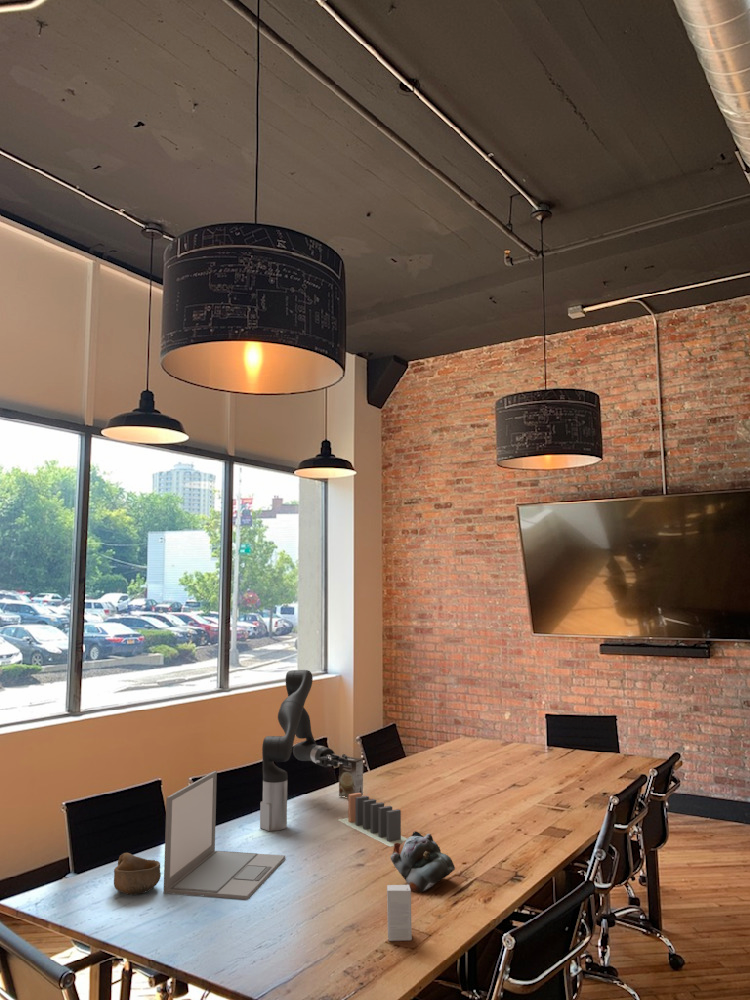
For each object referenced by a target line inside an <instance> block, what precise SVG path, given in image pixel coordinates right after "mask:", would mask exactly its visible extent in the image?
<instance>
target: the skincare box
mask: <svg viewBox="0 0 750 1000" xmlns="http://www.w3.org/2000/svg"><path fill="white" fill-rule="evenodd" d="M386 899H387V900H386V905H387V907H386V910H387V912H386V914H387V938H388V939H387V940H388V941H389V942H394V941H395V942H397V941H398V942H399V941H412V939H413V935H412V930H413V929H412V890H411V889H410V885H408V884H387V885H386Z"/></svg>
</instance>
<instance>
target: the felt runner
mask: <svg viewBox="0 0 750 1000" xmlns="http://www.w3.org/2000/svg"><path fill="white" fill-rule="evenodd" d="M337 821H339V822H340V823H343V824H344V825H347V826H348V827H350V828H352V829H354V830H355V831H356V830H357V831H358V832H360V833H362V834H364V835H366V836H368V837H369V838H372V839H374V840H375V841H378V842H380V843H381V844H384V845H386V846H388V847H389V848H391V847H394V844H395V843H403V842H404V841H405V840H406V839H407V838H408V837H405V836H403V835H401V840H396V841H391V842H388V841H387V837H382V838H380V837H378V833H374V834H372V833H371V829H367V830H364V829H363V825H361V826H356V825H355V822H351V823H350V822H348V817H345V818H340V819H337Z"/></svg>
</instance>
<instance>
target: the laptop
mask: <svg viewBox="0 0 750 1000" xmlns="http://www.w3.org/2000/svg"><path fill="white" fill-rule="evenodd" d="M217 773H218V772H217V770H214V771H212V772H210V773H208V774H207V775H205V776H203V777H201V778H200V779H197V780H196V781H194V782H192V783H190V784H188V785H187V786H185V787H183V788H181V789H179V790H177V791H176V792H174V793H172V794H170V795H169V796H166V804H165V805H166V809H165V837H164V838H165V839H164V862H163V863H164V864H163V865H164V869H163V871H164V873H163V894H172V893H175V894H174V895H184V894H187V896H197V895H204V896H203V897H209V896H213V897H212V898H222V897H223V898H225V899H234V898H236V900H248V899H249V898H250V897H251V896H252V895H253V894H254V893H255V892H256V891H257V890H258V889H259V888H260V886H261V885H262V884H264V882H265V881H266V880H267V879H268V878H269V877H270V876H271V875H272V874H273V872H274V871H275V870H276V869H277V868H278V867H279V866H280V865H281V864H282V863H283V862H284V861H285V860H286V855H282V854H281V855H280V854H267V853H266V854H265V853H256V852H241V851H225V850H216V822H217V821H216V814H217V812H216V811H217V810H216V809H217V778H218V777H217Z"/></svg>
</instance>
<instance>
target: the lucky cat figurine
mask: <svg viewBox="0 0 750 1000" xmlns="http://www.w3.org/2000/svg"><path fill="white" fill-rule="evenodd" d="M406 838H407V839H406V840H405V841H404V842H403V843H395V844H394V846H393V851H392V854H391V855H390V861H391V862H392V865H393V866H394V869H396V870H397V872H398V873H399V874H400V875H401V877H402V878H403V880H405V881H406V884H407V885H410V889H411V892H417V893H423V892H424V891H427V890H428V889H431V887H434V885H435V884H437V883H438V882H440V881H442V880H443V879H445V878H446V877H448V876H449V875H450V874H452V872H454V871H455V870H456V866H455V864H454V862H453V859H452V858H451V857H450V856H449V855H448V854H446V853H443V852H441V848H440V846H439V845H438V843H437V842H436V841H435V840H434V838H433V836H432V834H431V833H427V834H426V835H425V836H423V835H422V834H421V833H420V832H419V831H413V833H412V834H411V835H410V836H408V837H406Z"/></svg>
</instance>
